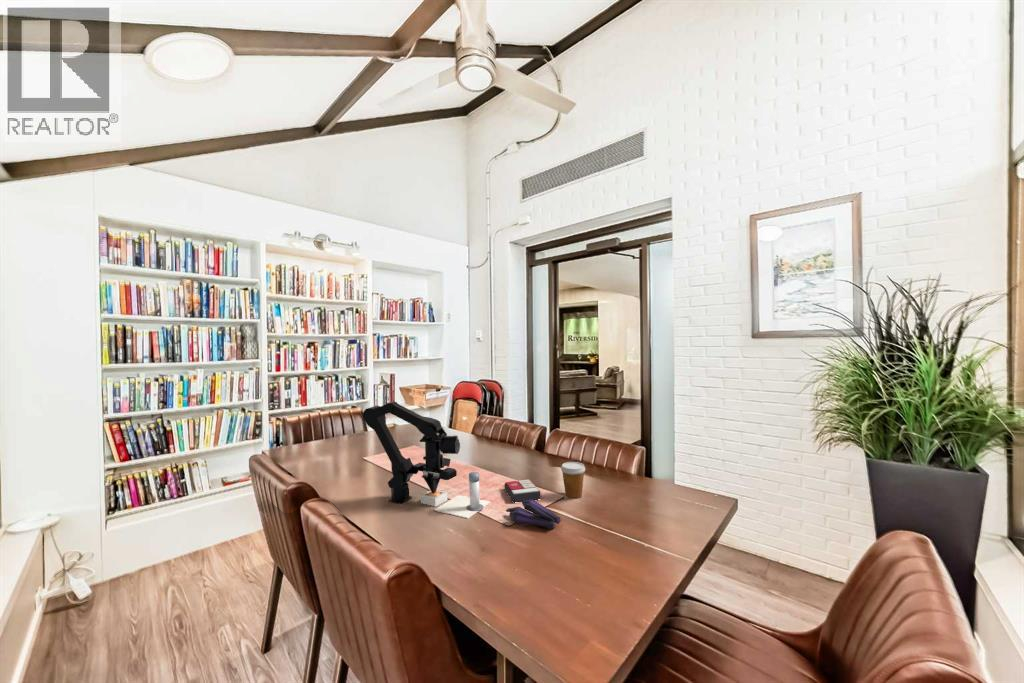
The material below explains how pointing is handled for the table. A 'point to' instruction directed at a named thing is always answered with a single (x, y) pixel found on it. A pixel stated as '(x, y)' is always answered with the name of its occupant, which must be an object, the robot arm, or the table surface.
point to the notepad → (460, 507)
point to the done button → (434, 494)
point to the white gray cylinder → (474, 490)
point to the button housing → (434, 498)
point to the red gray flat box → (522, 490)
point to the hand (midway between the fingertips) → (433, 492)
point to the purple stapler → (533, 515)
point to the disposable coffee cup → (573, 479)
